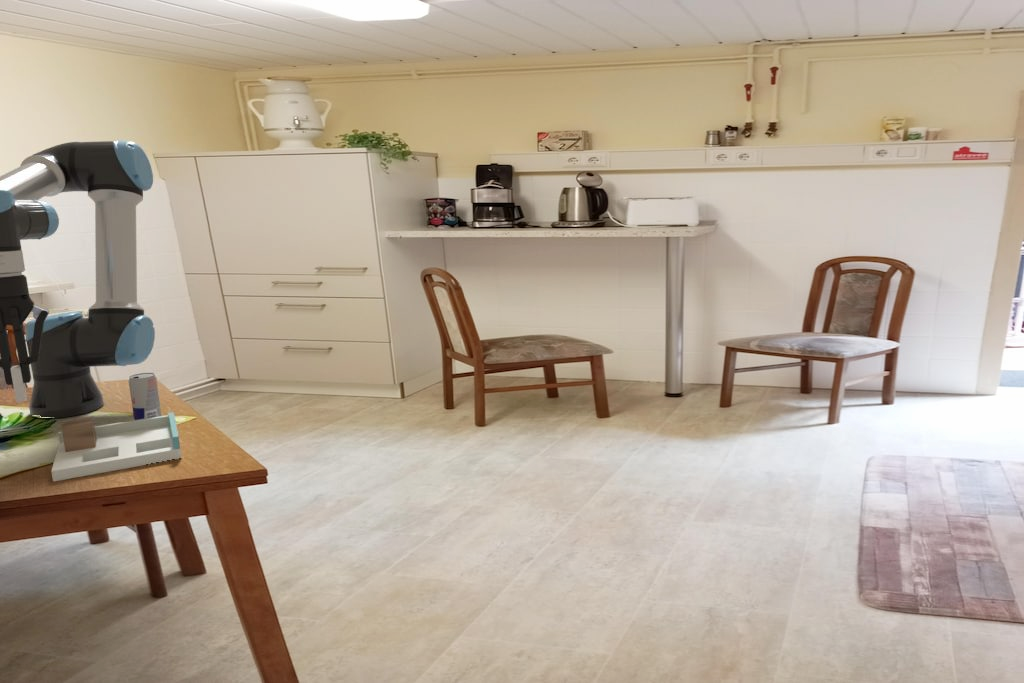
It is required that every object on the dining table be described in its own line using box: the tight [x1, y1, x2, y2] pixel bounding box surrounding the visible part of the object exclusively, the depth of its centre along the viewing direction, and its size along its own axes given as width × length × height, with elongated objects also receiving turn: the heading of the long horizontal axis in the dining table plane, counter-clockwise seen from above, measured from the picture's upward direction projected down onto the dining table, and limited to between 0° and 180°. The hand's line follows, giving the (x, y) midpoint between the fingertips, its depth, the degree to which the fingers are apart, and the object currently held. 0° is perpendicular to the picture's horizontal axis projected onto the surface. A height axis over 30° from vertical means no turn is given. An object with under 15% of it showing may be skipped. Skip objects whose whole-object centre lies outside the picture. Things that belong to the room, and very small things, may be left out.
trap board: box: [51, 411, 182, 483], centre depth 137 cm, size 18×21×4 cm
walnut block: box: [61, 415, 97, 452], centre depth 136 cm, size 5×5×5 cm
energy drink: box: [128, 372, 163, 420], centre depth 151 cm, size 5×5×12 cm
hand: (22, 400), depth 130 cm, fingers closed
